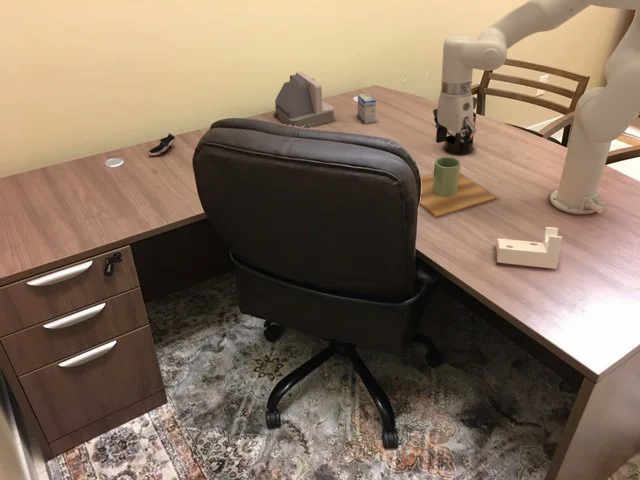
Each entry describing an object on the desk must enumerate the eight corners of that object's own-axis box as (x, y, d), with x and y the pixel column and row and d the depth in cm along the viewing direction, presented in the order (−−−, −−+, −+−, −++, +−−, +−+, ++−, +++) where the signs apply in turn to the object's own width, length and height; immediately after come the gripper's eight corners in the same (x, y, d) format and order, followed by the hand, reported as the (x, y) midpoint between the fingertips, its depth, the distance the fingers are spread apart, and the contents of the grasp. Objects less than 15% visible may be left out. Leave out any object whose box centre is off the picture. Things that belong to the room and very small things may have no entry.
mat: (495, 199, 150) (495, 197, 150) (436, 217, 144) (436, 215, 144) (452, 170, 166) (452, 168, 165) (397, 185, 159) (397, 184, 159)
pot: (462, 192, 153) (465, 164, 148) (441, 198, 151) (444, 170, 146) (447, 182, 158) (450, 154, 153) (427, 188, 156) (430, 160, 151)
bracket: (552, 257, 129) (557, 228, 126) (556, 268, 122) (562, 237, 119) (495, 251, 131) (499, 222, 129) (497, 262, 125) (501, 231, 122)
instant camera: (337, 123, 200) (336, 84, 192) (283, 132, 196) (279, 92, 188) (322, 104, 217) (320, 67, 209) (272, 112, 213) (268, 74, 205)
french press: (470, 157, 172) (479, 87, 159) (441, 154, 175) (447, 85, 162) (474, 142, 181) (483, 75, 168) (446, 139, 184) (452, 73, 171)
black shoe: (157, 163, 185) (167, 150, 181) (146, 154, 183) (157, 141, 180) (169, 149, 193) (179, 137, 190) (159, 141, 192) (169, 128, 188)
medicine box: (357, 116, 205) (357, 94, 200) (368, 114, 206) (368, 92, 201) (364, 124, 199) (364, 101, 194) (376, 122, 200) (376, 99, 195)
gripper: (490, 92, 132) (483, 156, 141) (448, 75, 145) (444, 134, 155) (465, 99, 129) (459, 163, 139) (424, 80, 143) (422, 140, 152)
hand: (451, 147), depth 147 cm, fingers open, 9 cm apart
